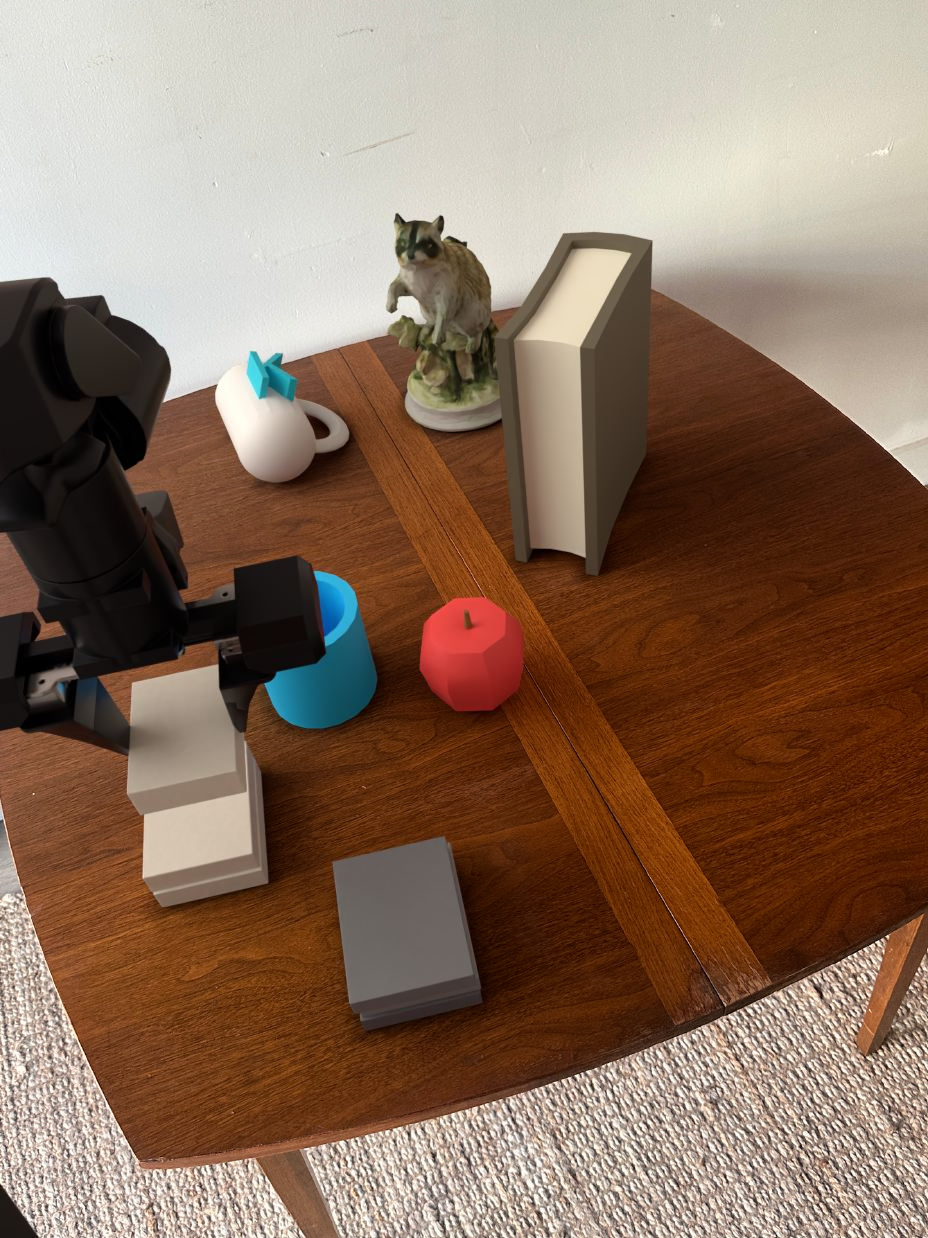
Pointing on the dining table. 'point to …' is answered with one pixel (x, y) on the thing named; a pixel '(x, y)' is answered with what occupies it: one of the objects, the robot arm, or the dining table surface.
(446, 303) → the figurine
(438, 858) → the grey pile
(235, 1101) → the dining table surface
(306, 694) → the mug
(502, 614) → the apple
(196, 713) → the white block
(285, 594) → the robot arm
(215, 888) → the white pile
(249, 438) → the mug
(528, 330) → the book
